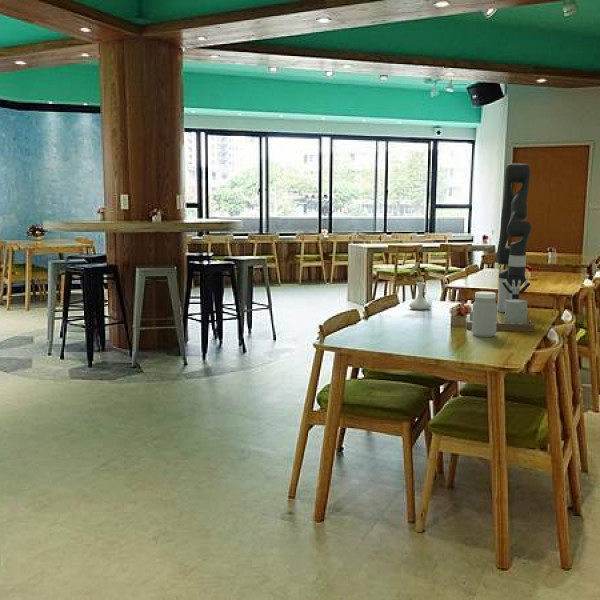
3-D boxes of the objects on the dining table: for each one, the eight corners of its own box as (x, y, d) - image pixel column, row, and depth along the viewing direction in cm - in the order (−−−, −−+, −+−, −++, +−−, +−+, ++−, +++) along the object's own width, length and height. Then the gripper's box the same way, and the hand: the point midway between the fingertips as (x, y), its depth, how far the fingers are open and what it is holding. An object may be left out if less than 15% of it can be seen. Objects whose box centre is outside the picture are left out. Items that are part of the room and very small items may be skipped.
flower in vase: (418, 306, 346) (419, 260, 343) (435, 309, 338) (437, 261, 334) (402, 309, 338) (403, 261, 334) (419, 312, 329) (420, 263, 326)
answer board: (465, 324, 296) (465, 316, 296) (530, 326, 290) (531, 319, 290) (466, 329, 284) (466, 321, 284) (534, 331, 278) (534, 324, 278)
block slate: (470, 318, 312) (471, 310, 311) (479, 319, 310) (479, 310, 310) (469, 319, 308) (470, 311, 307) (478, 320, 306) (478, 312, 306)
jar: (500, 337, 268) (502, 294, 265) (478, 338, 266) (479, 294, 264) (489, 332, 278) (490, 290, 275) (467, 333, 276) (469, 291, 273)
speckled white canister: (523, 326, 292) (524, 299, 290) (528, 330, 282) (530, 302, 281) (501, 325, 293) (502, 298, 291) (506, 329, 283) (507, 302, 282)
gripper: (531, 264, 299) (529, 301, 302) (501, 263, 302) (499, 300, 305) (533, 266, 292) (530, 304, 295) (502, 265, 295) (500, 303, 298)
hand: (514, 302), depth 300 cm, fingers closed
